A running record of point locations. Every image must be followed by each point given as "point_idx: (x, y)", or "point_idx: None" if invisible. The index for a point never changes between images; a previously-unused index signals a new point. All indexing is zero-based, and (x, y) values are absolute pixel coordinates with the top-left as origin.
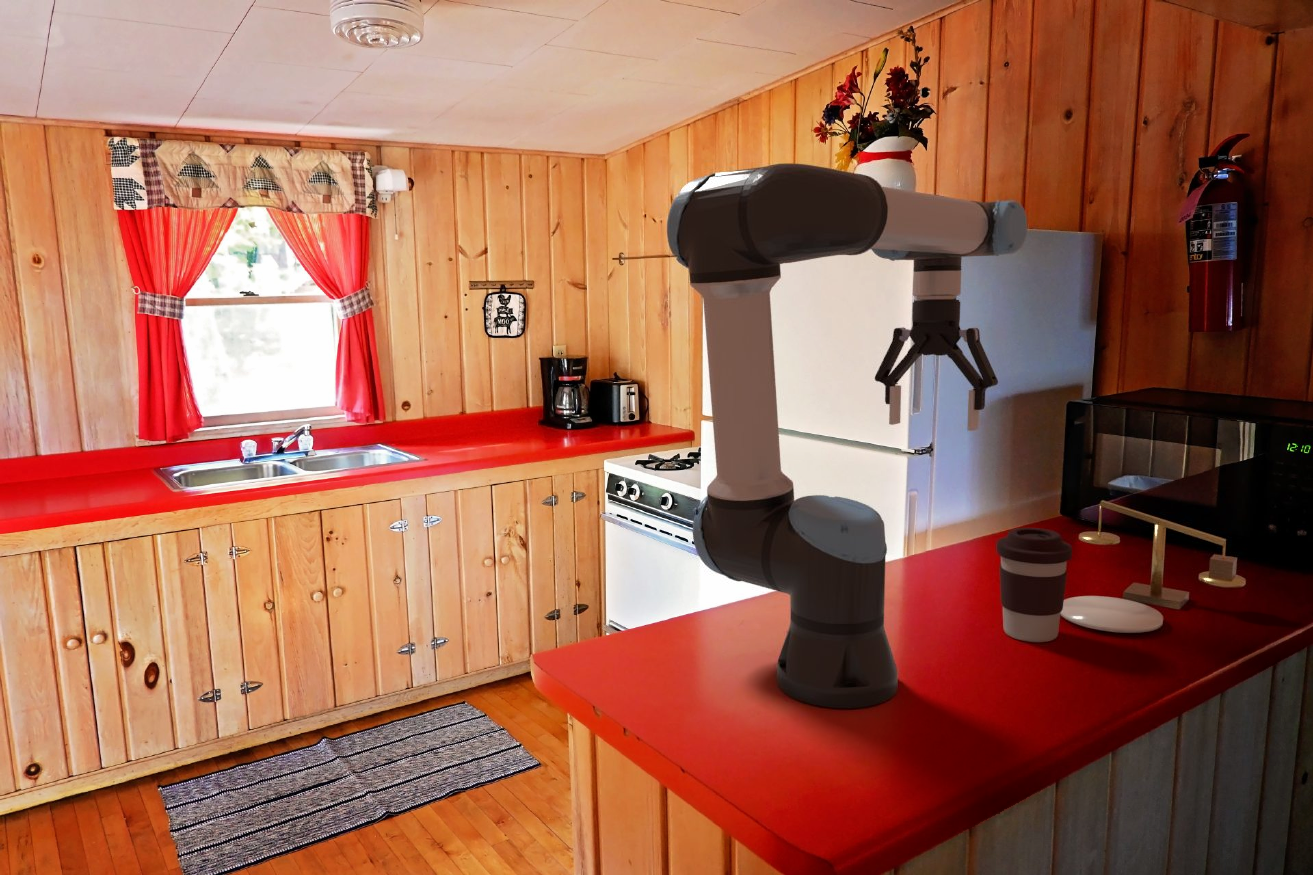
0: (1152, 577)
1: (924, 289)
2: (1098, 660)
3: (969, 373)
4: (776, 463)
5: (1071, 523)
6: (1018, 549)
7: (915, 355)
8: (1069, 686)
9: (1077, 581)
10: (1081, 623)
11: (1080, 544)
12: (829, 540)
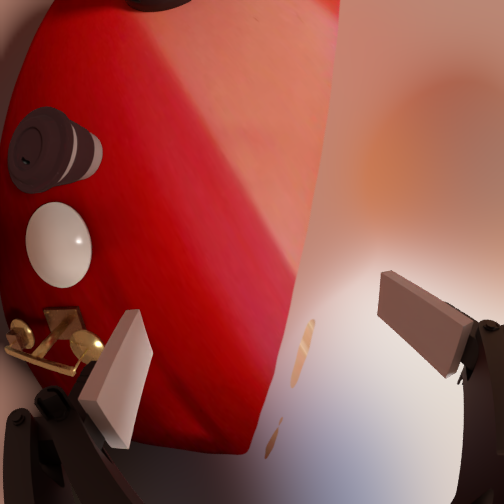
0: (58, 328)
1: None
2: None
3: (74, 470)
4: None
5: (232, 454)
6: (39, 113)
7: (488, 478)
8: (39, 91)
9: None
10: (58, 202)
11: (193, 421)
12: None
